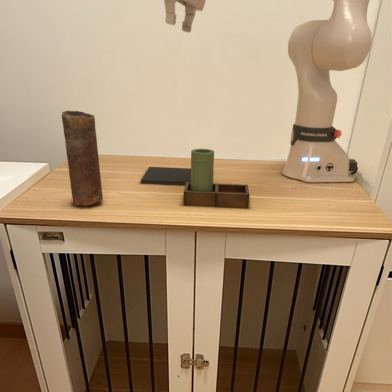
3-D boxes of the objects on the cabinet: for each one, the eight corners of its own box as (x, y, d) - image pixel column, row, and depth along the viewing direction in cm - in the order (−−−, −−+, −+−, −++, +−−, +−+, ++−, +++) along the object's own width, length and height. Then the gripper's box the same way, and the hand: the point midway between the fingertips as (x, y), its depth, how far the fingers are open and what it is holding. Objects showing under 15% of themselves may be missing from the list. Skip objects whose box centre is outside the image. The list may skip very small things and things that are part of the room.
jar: (212, 198, 109) (214, 149, 102) (211, 204, 104) (214, 154, 97) (191, 197, 109) (192, 148, 102) (189, 204, 105) (190, 153, 97)
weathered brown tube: (91, 197, 107) (80, 109, 95) (110, 203, 103) (101, 112, 91) (67, 203, 102) (52, 111, 90) (85, 210, 99) (73, 115, 87)
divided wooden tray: (246, 198, 110) (248, 184, 108) (248, 208, 103) (249, 194, 101) (186, 195, 110) (186, 182, 108) (183, 205, 103) (183, 191, 101)
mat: (211, 172, 131) (211, 169, 130) (209, 186, 118) (210, 182, 117) (149, 169, 131) (149, 166, 131) (141, 183, 118) (140, 179, 118)
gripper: (182, -75, 75) (173, 21, 82) (216, -40, 91) (206, 37, 99) (151, -78, 76) (145, 17, 83) (189, -42, 93) (182, 33, 100)
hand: (178, 28), depth 91 cm, fingers open, 8 cm apart
